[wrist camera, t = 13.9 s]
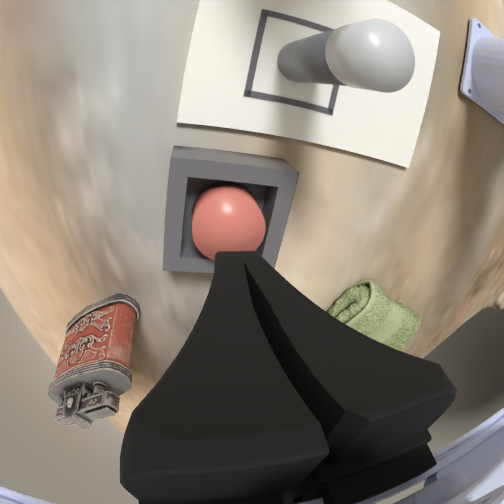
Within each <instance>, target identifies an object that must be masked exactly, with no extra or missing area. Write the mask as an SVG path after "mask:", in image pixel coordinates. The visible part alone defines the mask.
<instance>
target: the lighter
mask: <svg viewBox="0 0 504 504" xmlns="http://www.w3.org/2000/svg"><path fill="white" fill-rule="evenodd" d="M139 309H140V307H139V304H138V302H137V301H136V299H134V298H133V297H132V296H130V295H128V294H125V293H117V294H114V295H111V296H108V297H105V298H102V299H100V300H98V301H96V302H94V303H92V304H90V305H88V306H86V307H85V308H84V309H82V310H81V311H80V312H78V313H77V314H76V315H75V316H74V317H73V318H72V319H71V320H70V321H69V323H68V325H67V328H66V338H65V342H64V345H63V348H62V351H61V355H60V358H59V362H58V366H57V369H56V374H55V377H54V381H53V382H52V383H51V384H50V387H49V391H48V395H49V397H50V398H51V399H52V400H53V401H55V402H56V403H58V404H59V407H58V408H57V411H56V417H55V420H56V421H57V422H58V423H60V424H62V425H64V426H71V425H75V424H77V425H79V426H80V427H82V428H84V429H85V428H88V427H90V426H91V424H92V422H93V421H95V420H99V419H103V418H106V417H110V416H113V415H115V414H116V413H118V412H119V400H120V398H119V397H118V396H120V395H121V394H123V393H125V392H126V391H128V390H129V389H130V388H131V384H132V374H131V372H130V364H131V354H132V345H133V337H134V329H135V322H136V321H137V319H138V316H139Z"/></svg>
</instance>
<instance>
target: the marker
mask: <svg viewBox="0 0 504 504" xmlns="http://www.w3.org/2000/svg"><path fill="white" fill-rule="evenodd" d="M277 63H278V67H279V70H280V71H281V73H282V74H283V75H284V76H285V77H286V78H287V79H289V80H291V81H293V82H299V83H317V84H331V85H342V86H349V87H352V88H358V89H365V90H372V91H379V92H385V93H392V92H396V91H399V90H401V89H402V88H404V87H405V86H406V85H407V84H408V83H409V81H410V80H411V78H412V76H413V73H414V69H415V55H414V50H413V47H412V45H411V43H410V41H409V39H408V37H407V36H406V34H405V33H404V32H403V31H402V30H401V29H400V28H399V27H398V26H396V25H395V24H393V23H392V22H389V21H387V20H384V19H369V20H364V21H360V22H356V23H352V24H348V25H344V26H341V27H339V28H337V29H333V30H330V31H326V32H323V33H319V34H316V35H313V36H310V37H306V38H303V39H300V40H297V41H294V42H291V43H289V44H287V45H285V46H284V47H283V48H282V49H281V50H280V52H279V54H278V59H277Z"/></svg>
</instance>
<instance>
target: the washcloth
mask: <svg viewBox="0 0 504 504" xmlns="http://www.w3.org/2000/svg"><path fill="white" fill-rule="evenodd" d="M326 312H327V313H329V314H330V315H332V316H333V317H335V318H336V319H338V320H339V321H341V322H343V323H344V324H346V325H348V326H349V327H351V328H353V329H355V330H357V331H359V332H360V333H362V334H364V335H366V336H368V337H370V338H372V339H374V340H376V341H378V342H380V343H382V344H385V345H387V346H389V347H392V348H394V349H396V350H401V349H402V348H403V347H404V346H405V345H406V344H407V343H408V342H410V340H412V339H413V337H414V334H416V332H417V331H418V329H419V328H420V326H421V321H422V319H421V317H420V316H419V315H418V313H417V314H416V313H414V312H413V311H411V310H410V309H409V308H406V306H405V305H404V306H403V304H401V303H397V302H394V301H393V300H391V299H390V298H389V296H388V295H387V294H386V292H385V291H383V289H381V288H380V286H379V285H378V284H376V283H375V282H374V281H372V280H362V281H359V282H357V283H355V285H354V286H353V287H352V288H350V289H349V290H347V291H346V292H344V293H343V295H341V297H340V298H339V299H338V300H337V301H336V302H335V304H334V305H333V306H332V307H331V308H330V309H329V310H327V311H326Z"/></svg>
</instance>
